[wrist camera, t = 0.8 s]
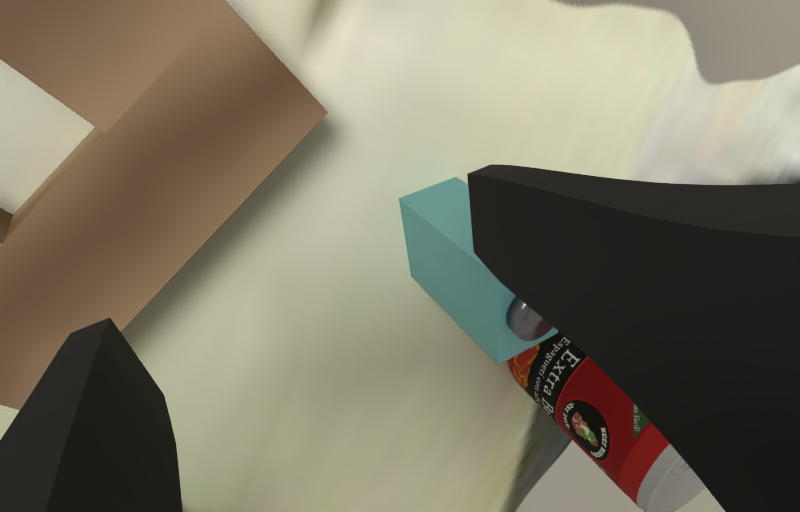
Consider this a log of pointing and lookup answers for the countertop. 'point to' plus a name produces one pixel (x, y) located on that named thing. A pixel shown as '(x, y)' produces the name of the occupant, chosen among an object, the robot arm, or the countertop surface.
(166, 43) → the slot plate
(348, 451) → the countertop surface
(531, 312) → the post
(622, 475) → the canned food
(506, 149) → the countertop surface
